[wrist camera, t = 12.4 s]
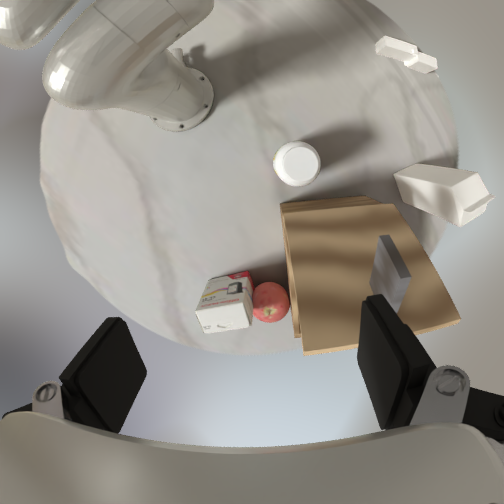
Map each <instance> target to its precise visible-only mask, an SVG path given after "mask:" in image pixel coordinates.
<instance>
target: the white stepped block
mask: <svg viewBox="0 0 504 504" xmlns="http://www.w3.org/2000/svg"><path fill="white" fill-rule="evenodd" d="M376 54H379V55H383V56H387V57H390V58H394V59H397V60H400V61H403V62H404V65H406V66H407V68H411V69H413V70H416V71H419V72H422V73H425V74H426V73H429V72H431V71H433V70H436V69H437V68H438V67H437V59H436V58H434V57H431V56H429V55H426V54H424V53H421V52H419V51H418V50H417V46H415V45H412V44H409V43H407V42H404V41H401V40H398V39H394V38H391V37H388V36H384V37H383V38H381V39H380V40H379V41H378V42H377V43H376ZM437 76H438V75H437ZM438 77H439V76H438Z"/></svg>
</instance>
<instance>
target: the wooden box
mask: <svg viewBox="0 0 504 504" xmlns="http://www.w3.org/2000/svg"><path fill="white" fill-rule="evenodd" d="M378 204H383V203H380V202H378V201H376V200H374V199H372V198H369V197H367V196H353V197H341V198H330V199H319V200H309V201H299V202H290V203H281V204H280V210H281V218H282V227H283V236H284V246H285V255H286V265H287V275H288V286H289V297H290V306H291V313H292V321H293V328H294V336H295V338H300V337H301V330H300V323H299V315H298V307H297V300H296V293H295V286H294V279H293V272H292V266H291V259H290V253H289V247H288V240H287V234H286V228H285V222H284V214H285V213H294V212H303V211H312V210H322V209H333V208H343V207H354V206H366V205H378Z"/></svg>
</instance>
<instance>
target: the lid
mask: <svg viewBox="0 0 504 504" xmlns="http://www.w3.org/2000/svg"><path fill="white" fill-rule="evenodd" d="M284 222H285V228H286V234H287V240H288V247H289V253H290V259H291V266H292V272H293V279H294V286H295V293H296V300H297V307H298V315H299V323H300V330H301V338H302V346H303V355H304V356H306V355H314V354H322V353H329V352H335V351H341V350H348V349H353V348H358V344H359V333H360V321H361V307H362V301H364V300H366V298H367V296H371V295H377V294H382V295H383V296H384V297H385V298H386V300H387V301H388V302H389V304H390V305H391V307H392V308H393V309H394V311H395V312H396V314H397V315H398V316H399V318H400V319H401V321H402V322H403V324H407V325H408V326H409V327H410V329H411V330H412V331H413V333H414V334H415V335H418V334H422V333H426V332H430V331H434V330H437V329H441V328H444V327H447V326H451V325H454V324H457V323H458V322H459V321H460V319H461V318H460V316H459V313H458V311H457V309H456V307H455V305H454V303H453V301H452V299H451V297H450V295H449V293H448V291H447V289H446V288H445V286H444V284H443V282H442V280H441V278H440V276H439V274H438V273H437V271H436V269H435V267H434V266H433V264H432V262H431V260H430V259H429V257H428V255H427V254H426V252H425V250H424V249H423V247H422V246H421V244H420V242H419V241H418V239H417V238H416V236H415V235H414V233H413V232H412V230H411V229H410V227H409V226H408V224H407V223H406V221H405V220H404V218H403V217H402V215H401V214H400V212H399V211H398V210H397V208H396V207H395V205H394V204H393V203H392V204H378V205H366V206H354V207H343V208H333V209H322V210H312V211H303V212H294V213H285V214H284Z"/></svg>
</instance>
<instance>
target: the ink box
mask: <svg viewBox="0 0 504 504" xmlns="http://www.w3.org/2000/svg"><path fill="white" fill-rule="evenodd" d="M254 290H255V288H254V284H253V281H252V278H251V276H250V274H249V271H245V272H241V273H237V274H233V275H228V276H224V277H220V278H215V279H211V280H208V282H207V285H206V287H205V290H204V292H203V294H202V297H201V299H200V301H199V304H198V306H197V308H196V311H195V313H196V316H197V319H198V322H199V324H200V327H201V329H202V331H203V333H213V332H220V331H228V330H234V329H241V328H247V327H249V326H251V325H252V317H253V302H252V294H253V291H254Z"/></svg>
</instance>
